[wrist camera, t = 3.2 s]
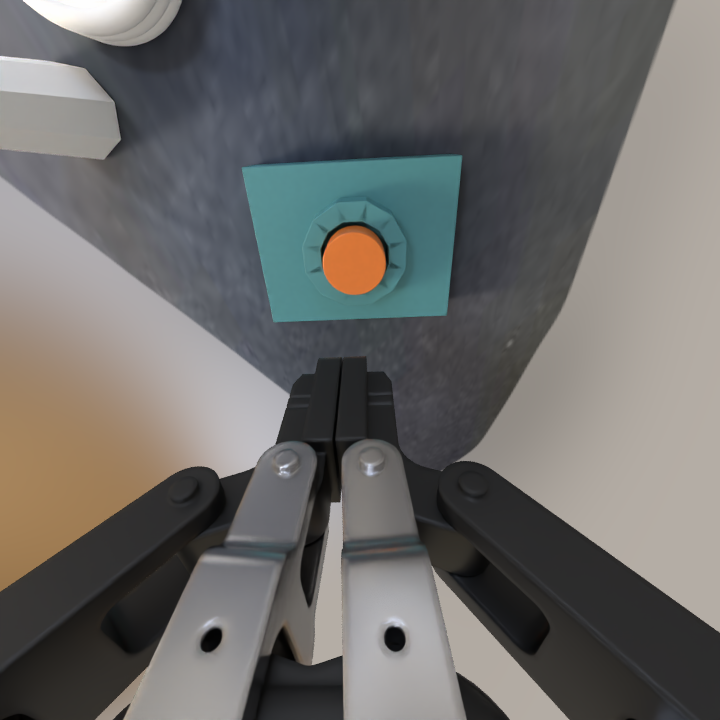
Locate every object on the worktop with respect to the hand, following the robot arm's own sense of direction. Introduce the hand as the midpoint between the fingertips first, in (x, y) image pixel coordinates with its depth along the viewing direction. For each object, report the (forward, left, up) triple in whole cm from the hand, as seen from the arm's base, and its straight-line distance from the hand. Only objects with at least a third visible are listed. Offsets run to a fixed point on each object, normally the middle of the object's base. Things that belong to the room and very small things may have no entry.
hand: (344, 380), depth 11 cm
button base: (0, 0, -19) cm, 19 cm away
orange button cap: (0, 0, -14) cm, 14 cm away
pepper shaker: (+18, -9, -19) cm, 28 cm away
